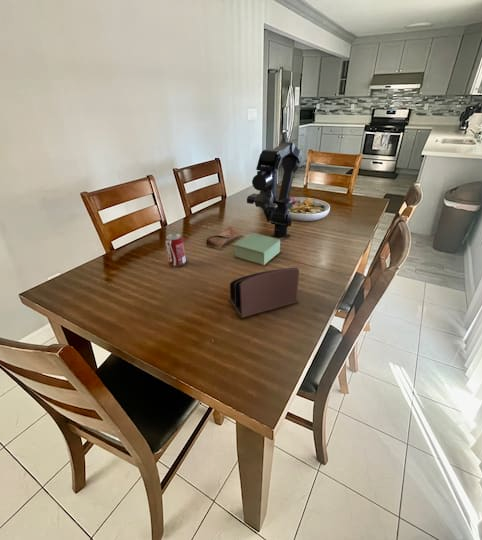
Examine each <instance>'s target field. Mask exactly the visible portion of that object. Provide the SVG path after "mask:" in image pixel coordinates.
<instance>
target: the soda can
mask: <svg viewBox="0 0 482 540" xmlns="http://www.w3.org/2000/svg"><path fill="white" fill-rule="evenodd" d="M165 247H166V255H167V260H168V264H169V265H170V266H172V267H181V266H183V265H185V264H186V262H187V257H186V252H185V243H184V239H183V238H182V236H181V234H180V233H171V234H168V235H166V240H165Z"/></svg>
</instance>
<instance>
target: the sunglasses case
mask: <svg viewBox="0 0 482 540" xmlns="http://www.w3.org/2000/svg"><path fill="white" fill-rule="evenodd" d="M240 237H243V234H240V233H239V232H238V231H236V229H234V228H233V227H232V226H228V228H225V229H223V230H221V231H220V232H217V233H216V234H214V235H212V236H209V237H208V238H207V239H206V241H205V244H206V245H207V247H209V248H212V249H214V248H220V249H222V248H223V247H225V246H226V245H228V244H230V243H231V242H232V241H235V240H237V239H239V238H240Z"/></svg>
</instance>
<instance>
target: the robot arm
mask: <svg viewBox="0 0 482 540" xmlns="http://www.w3.org/2000/svg"><path fill="white" fill-rule="evenodd" d="M302 161H303V155H302V152H301V150H300V149H299V148H298V147H297V146H296V145H295V143H294V142H290V141H284V142H282V143H281V144H279V145H277V146H276V147H274V148H272V149H269V148H268V149H263V150H261V153H260V154H259V157H258V161H257V165H256V167H255V170H256V174H255V175H254V176H253V177H252V180H251V184H252V187H253V188H254V190H256V191H259V193H256V192H255V193H251V194H250V195H248V196H247V197H246V203H247V204H250V205H255V207H256V208H260V209H262V211H263V213H264V216H265V219H266V222H267V223H270V224H271V225H274V231H273V232H274V233H273V238H276V239H280V238H288V237H289V236H290V233H288V228H289V227H291V226H292V222H293V220H292V219H291V217H290V215H289V214H290V210H289V209H290V208H291V207H293V202H292V200H289V197H290V196H291V190H292V186H293V181H294V176H295V173H296V172H297V171H298V170H299V168H300V166H301V163H302ZM280 166H282V168H283V175H282V179H281V183H280V189H279V185H278V174H279V173H278V171H280ZM278 190H279V194H278V193H277V192H278Z"/></svg>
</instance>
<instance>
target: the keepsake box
mask: <svg viewBox="0 0 482 540" xmlns="http://www.w3.org/2000/svg"><path fill="white" fill-rule="evenodd" d="M234 252H235V257H237V258H240V259H242V260H246V261H250V262H253V263H257V264H260V265H262V266H265V265H266V264H267V263H268V262H270V261H271V260H272V259H273V258H274V257H275V256H277V255H278V254H279V253H280V252H281V241H280V242H278V243H277V244H276V245H275V246H273V247H272V248H271V249H269V250H268V251H267V252H266V253H264V254H261V253H258V252H254V251H251V250H247V249H244V248H240V247H237V246H234Z"/></svg>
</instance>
